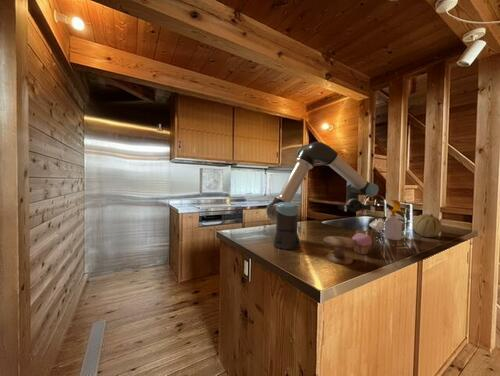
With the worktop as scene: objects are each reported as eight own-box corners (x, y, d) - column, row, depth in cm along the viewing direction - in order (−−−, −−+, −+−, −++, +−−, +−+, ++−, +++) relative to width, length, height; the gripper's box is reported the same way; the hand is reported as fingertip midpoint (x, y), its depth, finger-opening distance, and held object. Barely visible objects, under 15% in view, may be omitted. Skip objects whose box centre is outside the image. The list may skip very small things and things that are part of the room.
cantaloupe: (418, 233, 150) (418, 211, 150) (445, 237, 138) (446, 214, 137) (408, 235, 143) (408, 213, 142) (435, 241, 130) (436, 216, 130)
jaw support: (395, 229, 148) (383, 219, 150) (385, 237, 150) (374, 227, 151) (387, 225, 160) (377, 216, 161) (378, 233, 161) (368, 224, 163)
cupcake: (358, 249, 113) (358, 230, 113) (375, 254, 106) (375, 233, 106) (348, 252, 109) (348, 232, 108) (365, 257, 101) (365, 236, 101)
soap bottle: (380, 237, 139) (381, 199, 138) (391, 236, 142) (392, 198, 141) (394, 240, 130) (395, 200, 130) (405, 239, 133) (406, 199, 132)
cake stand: (330, 265, 91) (330, 244, 91) (318, 254, 105) (319, 236, 105) (362, 265, 91) (363, 244, 91) (347, 254, 105) (347, 236, 105)
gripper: (376, 212, 132) (386, 217, 112) (333, 210, 140) (334, 215, 120) (377, 199, 132) (386, 203, 112) (333, 198, 140) (334, 201, 120)
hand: (359, 209), depth 116 cm, fingers open, 13 cm apart
